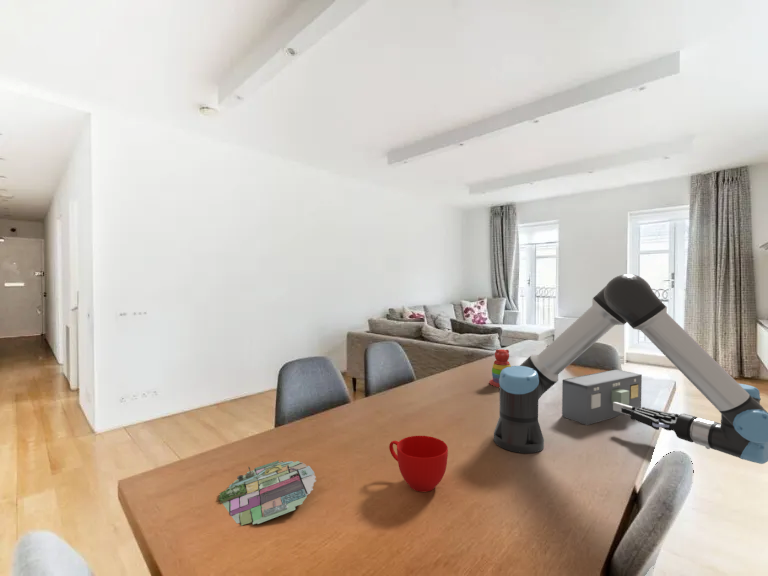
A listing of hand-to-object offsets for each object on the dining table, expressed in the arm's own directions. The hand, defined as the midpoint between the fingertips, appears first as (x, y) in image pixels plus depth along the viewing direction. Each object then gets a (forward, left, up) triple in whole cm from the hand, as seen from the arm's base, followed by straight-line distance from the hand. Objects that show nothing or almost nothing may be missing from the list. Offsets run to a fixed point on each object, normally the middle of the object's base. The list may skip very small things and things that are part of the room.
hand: (614, 406), depth 131 cm
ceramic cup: (-67, +43, -8) cm, 80 cm away
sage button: (+13, -1, -3) cm, 14 cm away
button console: (+16, +4, -8) cm, 19 cm away
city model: (-91, +71, -9) cm, 116 cm away
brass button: (+26, -4, -3) cm, 26 cm away
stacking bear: (+33, +48, -8) cm, 59 cm away
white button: (+5, +8, -3) cm, 10 cm away
